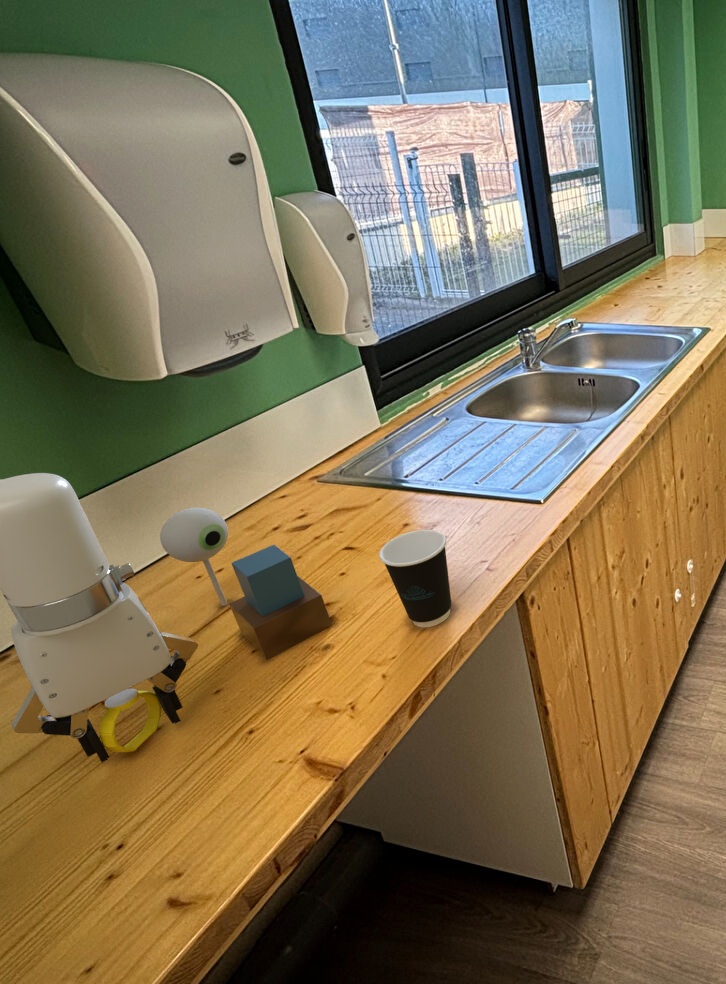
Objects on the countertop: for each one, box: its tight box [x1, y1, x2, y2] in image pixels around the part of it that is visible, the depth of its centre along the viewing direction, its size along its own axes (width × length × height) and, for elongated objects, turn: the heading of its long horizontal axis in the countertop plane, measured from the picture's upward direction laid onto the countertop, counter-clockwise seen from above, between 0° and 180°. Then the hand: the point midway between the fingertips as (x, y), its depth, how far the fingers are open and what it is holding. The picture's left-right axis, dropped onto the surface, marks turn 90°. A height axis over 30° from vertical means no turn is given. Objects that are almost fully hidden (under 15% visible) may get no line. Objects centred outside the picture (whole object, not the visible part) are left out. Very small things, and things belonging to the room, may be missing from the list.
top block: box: [231, 544, 304, 616], centre depth 88 cm, size 5×5×6 cm
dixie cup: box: [378, 529, 452, 628], centre depth 90 cm, size 8×8×11 cm
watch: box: [99, 688, 162, 753], centre depth 74 cm, size 6×3×6 cm, turn 177°
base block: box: [228, 575, 333, 661], centre depth 90 cm, size 8×8×5 cm
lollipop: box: [159, 507, 229, 607], centre depth 93 cm, size 7×7×15 cm
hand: (138, 733), depth 75 cm, fingers closed on watch, 5 cm apart
